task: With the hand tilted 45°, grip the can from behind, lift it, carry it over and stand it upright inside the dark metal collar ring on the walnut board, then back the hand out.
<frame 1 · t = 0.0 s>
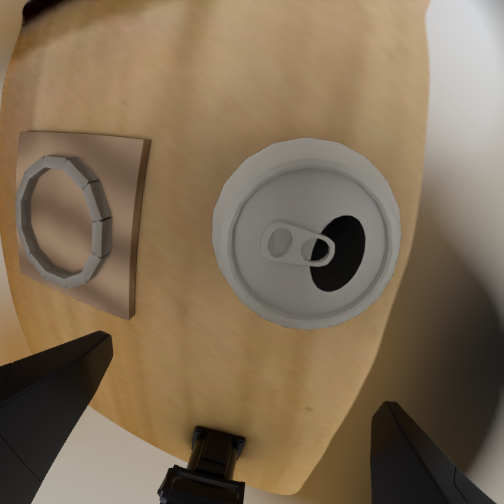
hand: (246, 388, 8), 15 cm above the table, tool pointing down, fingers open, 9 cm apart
collar board: (69, 217, 23), on the table
can: (299, 197, 21), on the table
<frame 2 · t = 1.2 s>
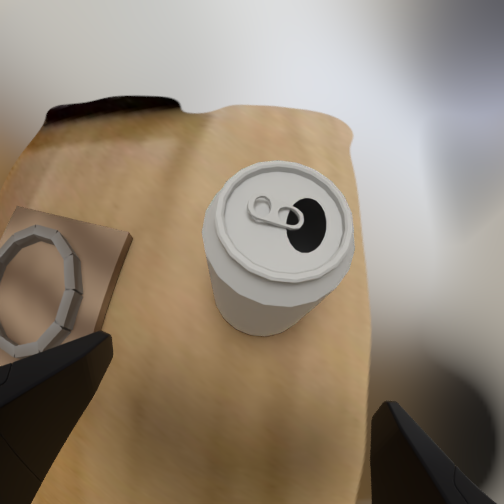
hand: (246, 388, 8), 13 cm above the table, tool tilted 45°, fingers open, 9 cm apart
collar board: (37, 296, 21), on the table
can: (260, 292, 23), on the table
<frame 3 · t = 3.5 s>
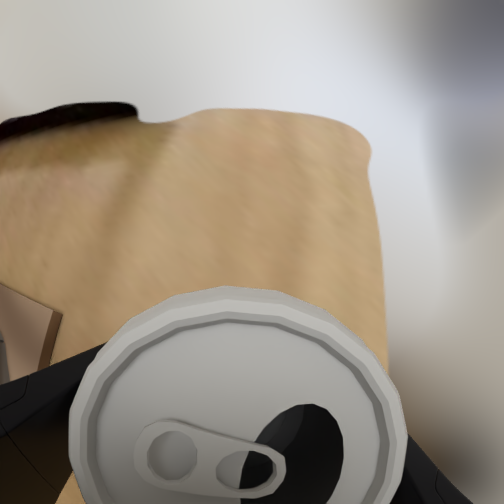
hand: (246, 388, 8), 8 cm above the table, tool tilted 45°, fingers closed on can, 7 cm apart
can: (233, 404, 14), on the table, touching gripper
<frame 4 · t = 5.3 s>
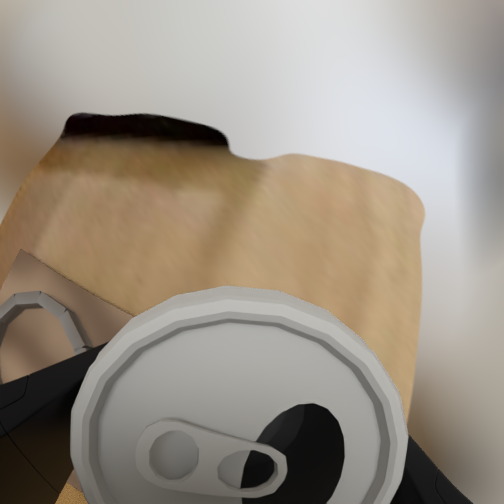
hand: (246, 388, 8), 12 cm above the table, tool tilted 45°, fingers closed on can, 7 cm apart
collar board: (44, 368, 18), on the table
can: (234, 404, 14), point 4 cm above the table, touching gripper
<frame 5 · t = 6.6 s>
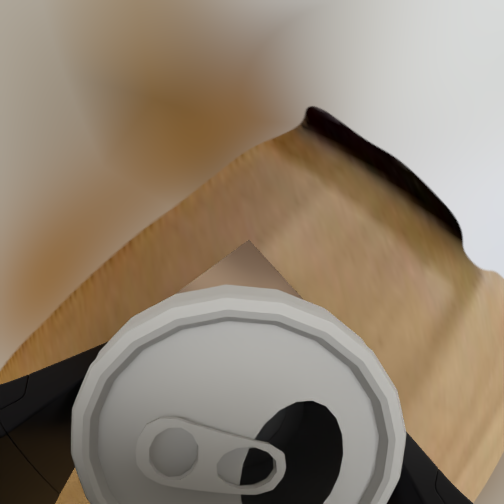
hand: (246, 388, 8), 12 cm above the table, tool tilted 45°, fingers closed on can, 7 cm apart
collar board: (234, 394, 18), on the table
can: (234, 403, 15), point 4 cm above the table, touching gripper
when the fingers open (10 cm above the table, at t = 7.5 s): can drops 1 cm, resting on collar board.
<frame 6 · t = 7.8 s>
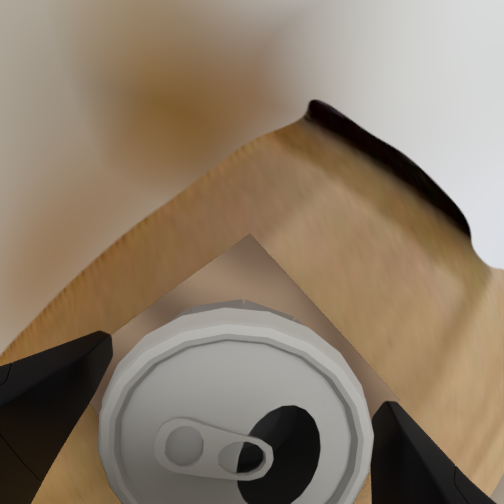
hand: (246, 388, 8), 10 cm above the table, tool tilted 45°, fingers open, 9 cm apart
collar board: (233, 400, 17), on the table
can: (233, 404, 16), point 1 cm above the table, touching collar board
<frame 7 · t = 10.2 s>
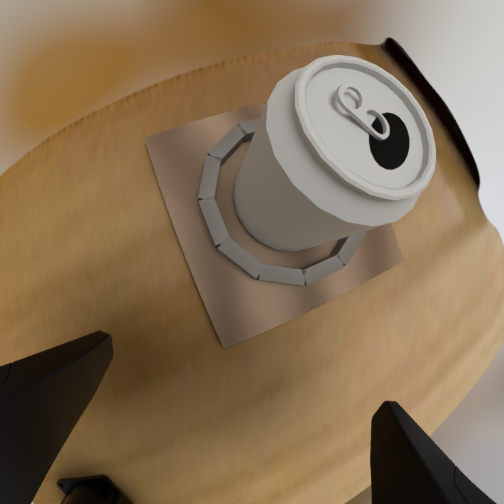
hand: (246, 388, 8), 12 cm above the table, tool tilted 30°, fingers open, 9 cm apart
collar board: (281, 202, 21), on the table
can: (283, 201, 20), point 1 cm above the table, touching collar board
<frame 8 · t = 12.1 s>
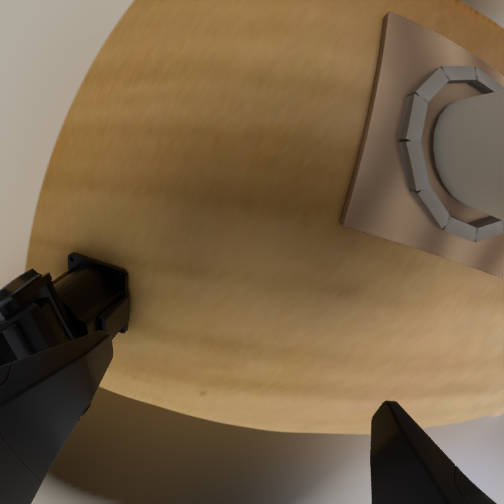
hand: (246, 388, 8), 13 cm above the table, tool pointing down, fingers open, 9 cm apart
collar board: (462, 151, 16), on the table
can: (467, 152, 15), point 1 cm above the table, touching collar board
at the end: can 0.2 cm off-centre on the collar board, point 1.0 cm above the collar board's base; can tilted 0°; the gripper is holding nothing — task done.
